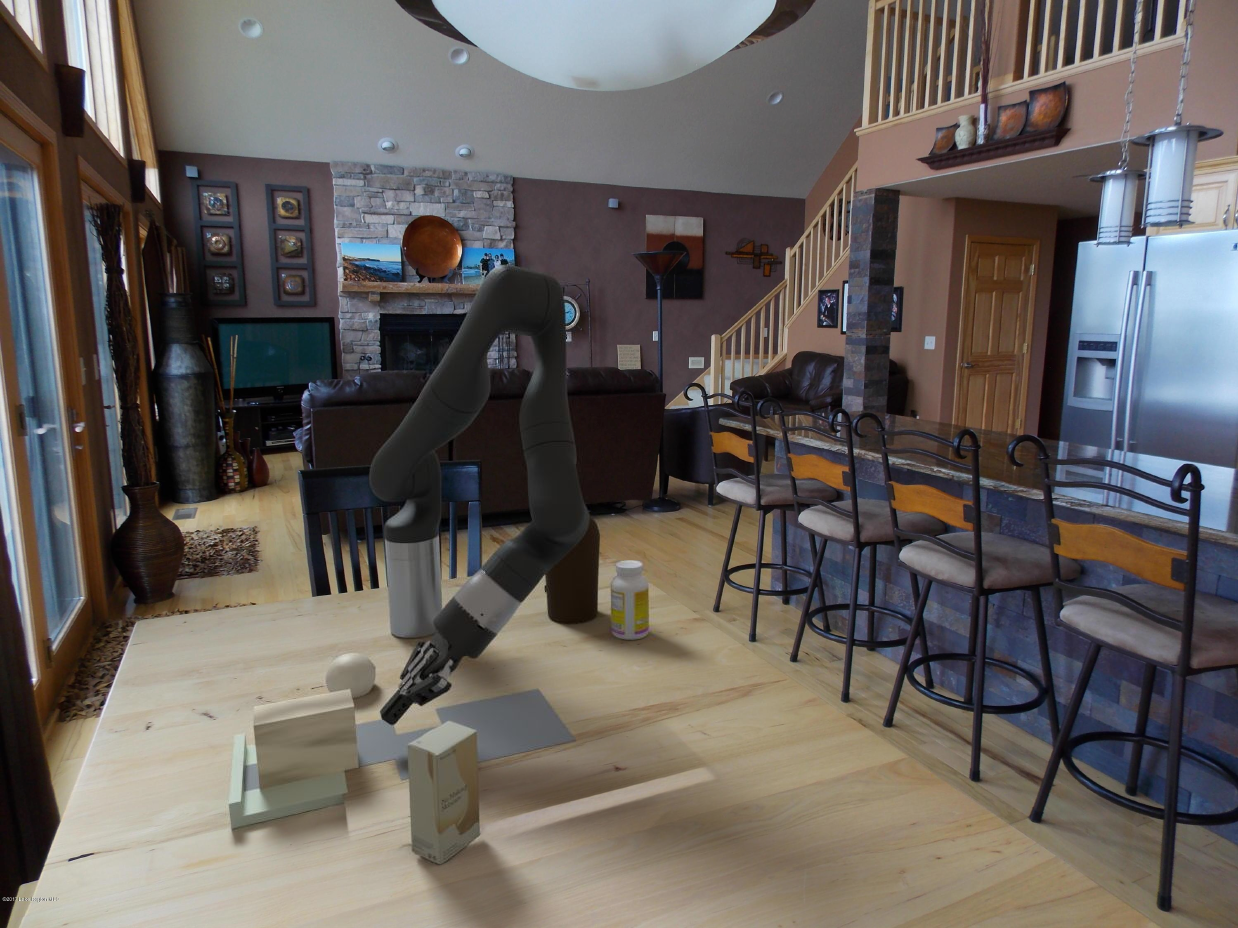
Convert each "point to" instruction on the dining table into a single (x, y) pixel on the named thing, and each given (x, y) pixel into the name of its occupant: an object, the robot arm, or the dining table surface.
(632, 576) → the supplement bottle
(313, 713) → the birch block
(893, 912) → the dining table surface
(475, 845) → the dining table surface
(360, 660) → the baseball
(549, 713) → the board
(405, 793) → the dining table surface
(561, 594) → the olive oil
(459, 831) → the skincare box
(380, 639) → the dining table surface
